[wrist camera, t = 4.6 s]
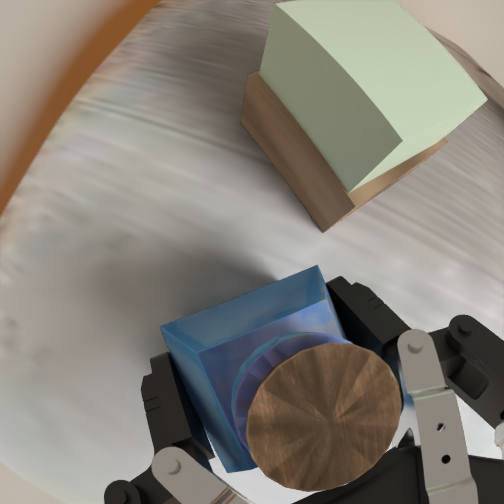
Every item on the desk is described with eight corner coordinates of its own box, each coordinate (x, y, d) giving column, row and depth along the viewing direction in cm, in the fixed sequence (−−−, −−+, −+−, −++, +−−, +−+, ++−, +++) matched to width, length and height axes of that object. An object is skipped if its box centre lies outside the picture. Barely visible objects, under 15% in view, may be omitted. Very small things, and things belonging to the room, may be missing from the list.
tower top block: (360, 48, 17) (389, -4, 12) (438, 142, 16) (487, 99, 11) (258, 74, 15) (275, 3, 10) (348, 193, 14) (403, 140, 9)
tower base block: (335, 83, 22) (358, 41, 17) (408, 173, 21) (448, 142, 16) (240, 123, 20) (248, 74, 15) (321, 234, 19) (355, 206, 14)
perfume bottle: (178, 323, 17) (106, 333, 5) (282, 283, 18) (401, 217, 6) (222, 424, 16) (241, 572, 4) (322, 381, 17) (470, 449, 5)
